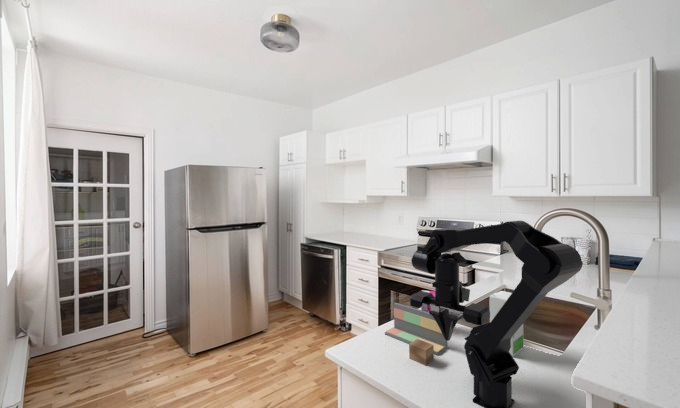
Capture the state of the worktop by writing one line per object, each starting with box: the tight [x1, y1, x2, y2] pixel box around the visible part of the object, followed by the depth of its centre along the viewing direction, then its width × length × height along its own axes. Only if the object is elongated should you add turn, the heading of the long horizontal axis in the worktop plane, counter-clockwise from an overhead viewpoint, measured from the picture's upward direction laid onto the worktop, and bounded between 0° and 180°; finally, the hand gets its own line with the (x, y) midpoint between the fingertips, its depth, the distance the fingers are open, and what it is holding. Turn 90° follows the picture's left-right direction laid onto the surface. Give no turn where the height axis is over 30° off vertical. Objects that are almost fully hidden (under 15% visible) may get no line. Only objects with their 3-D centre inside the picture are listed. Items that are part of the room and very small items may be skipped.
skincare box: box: [489, 290, 525, 358], centre depth 88 cm, size 8×7×16 cm
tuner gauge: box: [384, 302, 448, 356], centre depth 93 cm, size 18×6×9 cm, turn 44°
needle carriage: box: [408, 339, 435, 366], centre depth 84 cm, size 5×6×4 cm
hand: (447, 339), depth 78 cm, fingers closed
